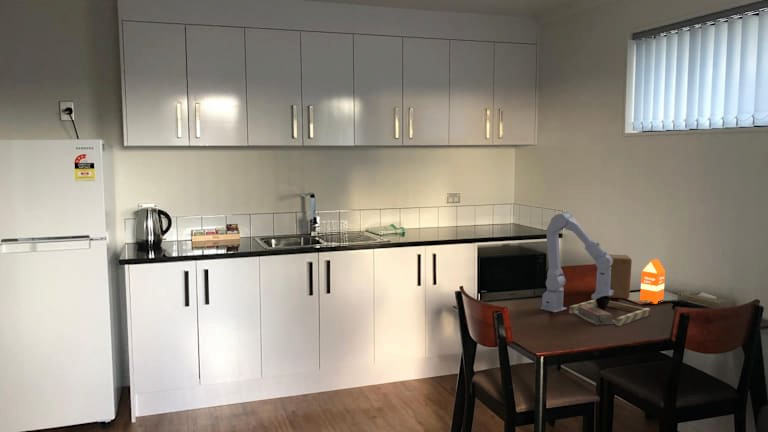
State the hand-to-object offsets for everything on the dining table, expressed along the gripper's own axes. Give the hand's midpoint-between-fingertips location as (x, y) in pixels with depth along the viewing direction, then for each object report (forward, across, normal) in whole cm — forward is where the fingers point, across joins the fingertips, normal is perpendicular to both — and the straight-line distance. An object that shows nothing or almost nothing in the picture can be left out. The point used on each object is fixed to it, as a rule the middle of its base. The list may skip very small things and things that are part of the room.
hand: (601, 312), depth 272 cm
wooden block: (+2, +39, +15) cm, 42 cm away
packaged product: (+2, -5, 0) cm, 6 cm away
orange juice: (+2, +44, 0) cm, 44 cm away
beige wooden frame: (+2, +6, 0) cm, 7 cm away
